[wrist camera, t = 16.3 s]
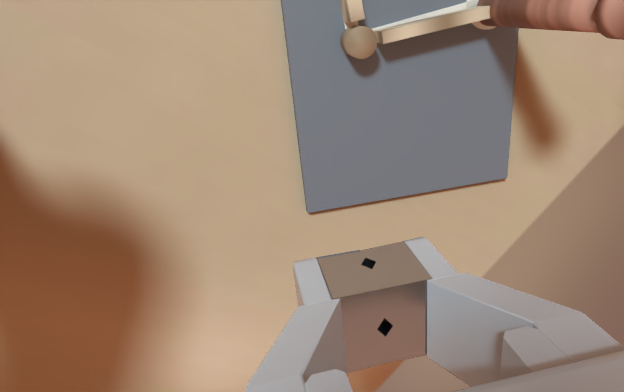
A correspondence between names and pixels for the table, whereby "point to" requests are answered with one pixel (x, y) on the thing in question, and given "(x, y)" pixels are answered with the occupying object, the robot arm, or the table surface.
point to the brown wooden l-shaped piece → (522, 18)
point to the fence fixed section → (356, 31)
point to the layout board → (397, 102)
